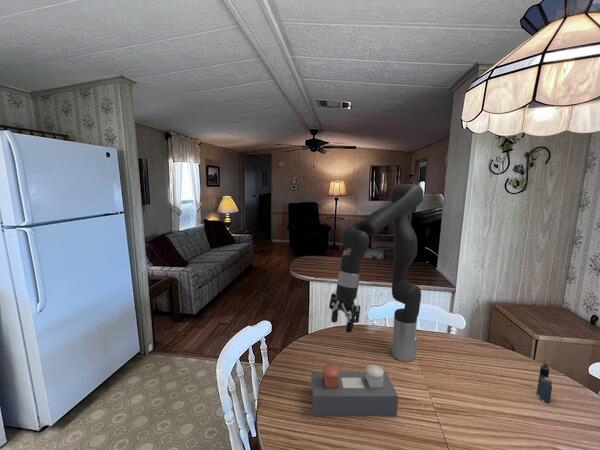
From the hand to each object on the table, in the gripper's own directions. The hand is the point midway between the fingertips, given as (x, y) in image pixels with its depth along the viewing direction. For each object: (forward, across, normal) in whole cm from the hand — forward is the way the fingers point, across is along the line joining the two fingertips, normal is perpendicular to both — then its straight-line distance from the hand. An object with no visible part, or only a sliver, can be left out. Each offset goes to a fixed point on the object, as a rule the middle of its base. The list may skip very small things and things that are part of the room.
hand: (341, 326), depth 102 cm
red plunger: (+19, -6, +6) cm, 21 cm away
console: (+22, -10, -1) cm, 24 cm away
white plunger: (+17, -13, -7) cm, 23 cm away
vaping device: (+14, -41, -63) cm, 76 cm away
